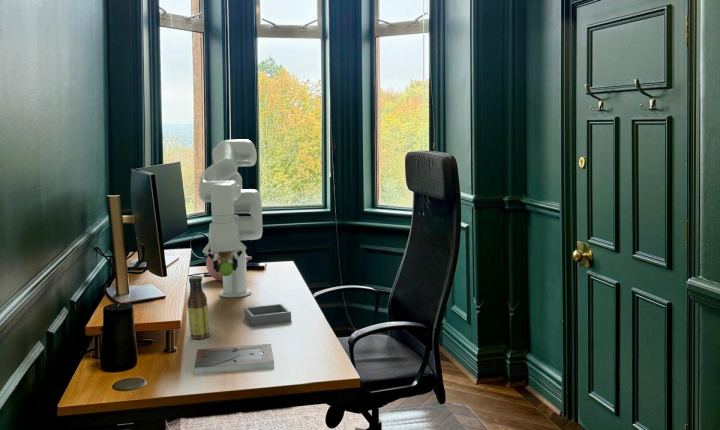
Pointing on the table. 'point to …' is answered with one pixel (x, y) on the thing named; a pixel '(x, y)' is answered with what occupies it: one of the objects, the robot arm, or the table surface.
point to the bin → (267, 314)
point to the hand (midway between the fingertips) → (225, 270)
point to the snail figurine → (225, 263)
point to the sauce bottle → (198, 309)
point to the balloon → (210, 264)
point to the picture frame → (234, 358)
